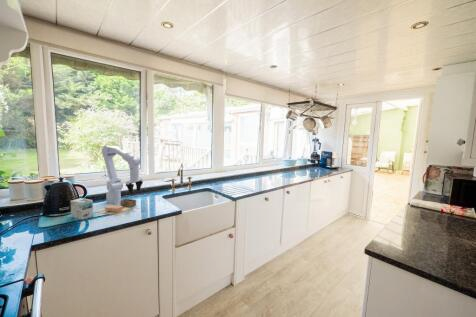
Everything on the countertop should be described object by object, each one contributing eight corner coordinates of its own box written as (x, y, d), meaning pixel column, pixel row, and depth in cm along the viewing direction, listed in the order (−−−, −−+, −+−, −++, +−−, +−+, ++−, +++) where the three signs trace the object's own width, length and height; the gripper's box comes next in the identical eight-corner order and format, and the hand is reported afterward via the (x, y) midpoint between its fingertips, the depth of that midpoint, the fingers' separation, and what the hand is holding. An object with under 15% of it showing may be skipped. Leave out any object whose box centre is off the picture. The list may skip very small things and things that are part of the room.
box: (120, 206, 146) (120, 200, 146) (125, 204, 151) (125, 198, 151) (131, 207, 145) (131, 201, 144) (136, 205, 149) (135, 199, 149)
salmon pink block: (104, 211, 135) (104, 207, 134) (111, 208, 140) (111, 204, 140) (116, 212, 133) (116, 208, 132) (123, 210, 138) (122, 206, 138)
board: (95, 213, 133) (95, 212, 132) (112, 206, 146) (112, 205, 146) (118, 216, 129) (118, 215, 129) (133, 208, 142) (133, 208, 142)
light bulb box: (93, 216, 128) (93, 199, 127) (82, 220, 121) (81, 202, 120) (82, 213, 131) (81, 197, 130) (70, 217, 125) (69, 200, 124)
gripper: (131, 175, 139) (132, 195, 140) (145, 172, 153) (146, 190, 154) (123, 175, 141) (123, 194, 142) (137, 172, 155) (138, 189, 156)
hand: (134, 192), depth 148 cm, fingers open, 7 cm apart
